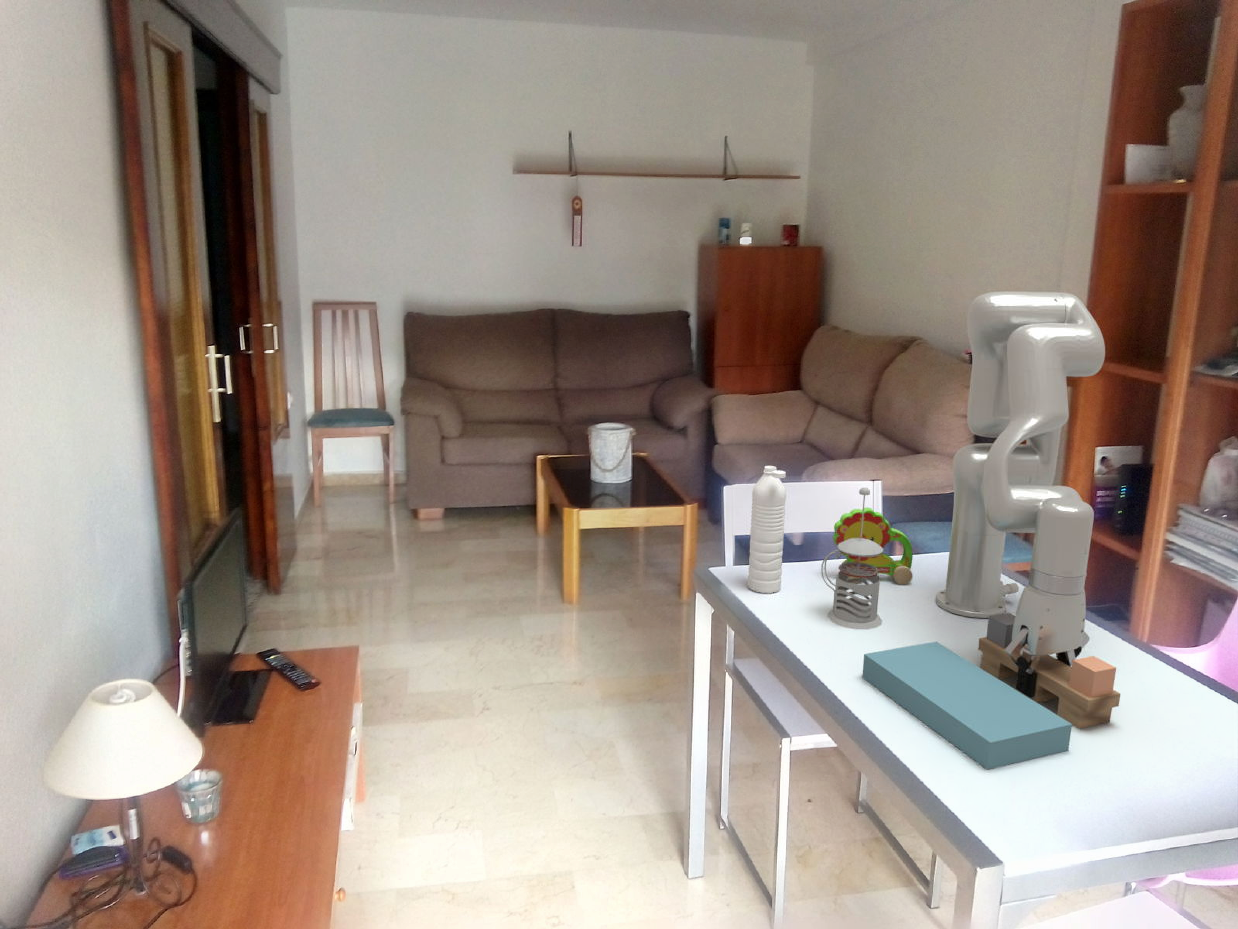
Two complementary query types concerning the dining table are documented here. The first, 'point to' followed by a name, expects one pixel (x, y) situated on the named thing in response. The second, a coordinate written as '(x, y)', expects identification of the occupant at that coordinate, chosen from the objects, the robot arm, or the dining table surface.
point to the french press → (856, 609)
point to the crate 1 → (1000, 629)
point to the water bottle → (767, 532)
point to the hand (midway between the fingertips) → (1042, 688)
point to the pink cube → (1092, 676)
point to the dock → (967, 705)
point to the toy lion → (880, 534)
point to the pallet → (1052, 686)
